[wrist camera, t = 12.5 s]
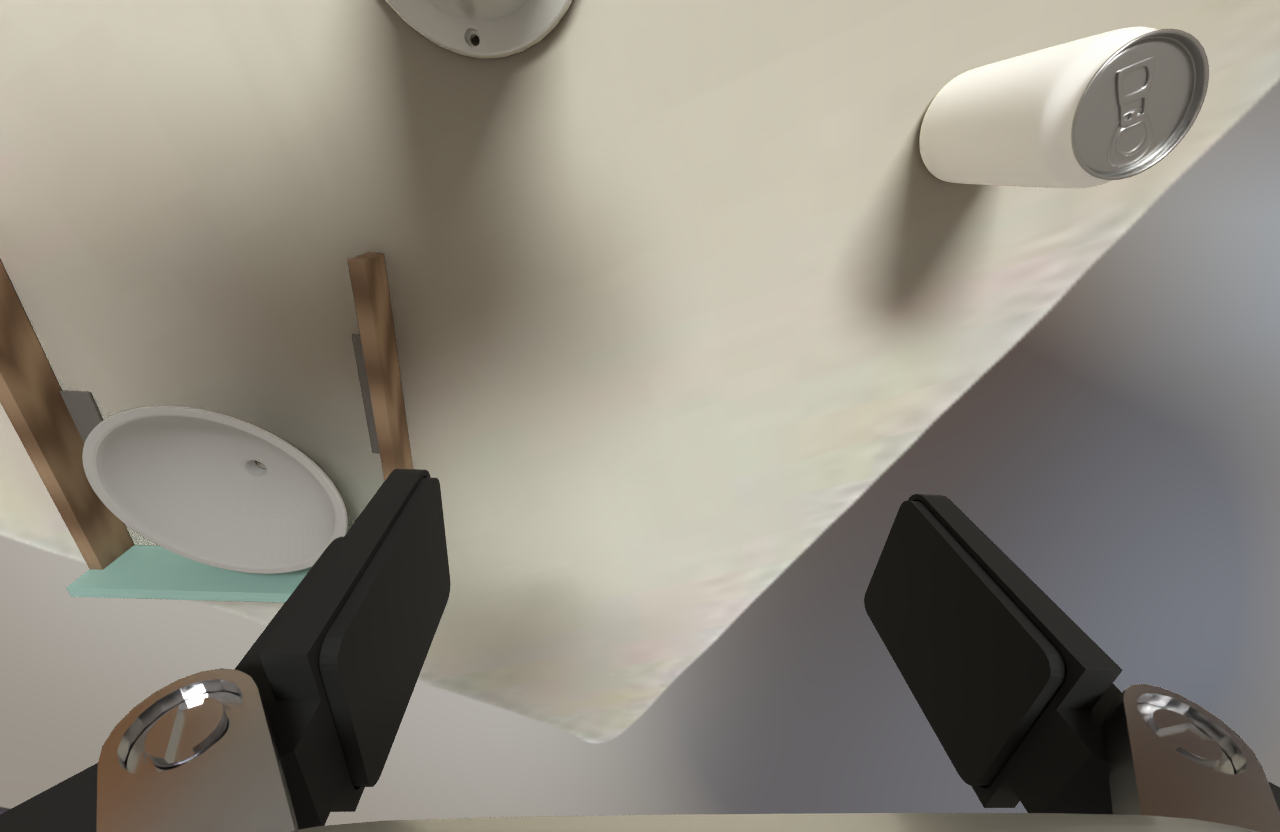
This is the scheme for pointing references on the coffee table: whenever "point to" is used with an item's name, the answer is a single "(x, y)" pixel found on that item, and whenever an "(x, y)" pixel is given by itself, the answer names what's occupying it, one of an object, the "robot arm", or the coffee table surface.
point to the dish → (214, 488)
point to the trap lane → (62, 420)
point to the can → (1068, 111)
